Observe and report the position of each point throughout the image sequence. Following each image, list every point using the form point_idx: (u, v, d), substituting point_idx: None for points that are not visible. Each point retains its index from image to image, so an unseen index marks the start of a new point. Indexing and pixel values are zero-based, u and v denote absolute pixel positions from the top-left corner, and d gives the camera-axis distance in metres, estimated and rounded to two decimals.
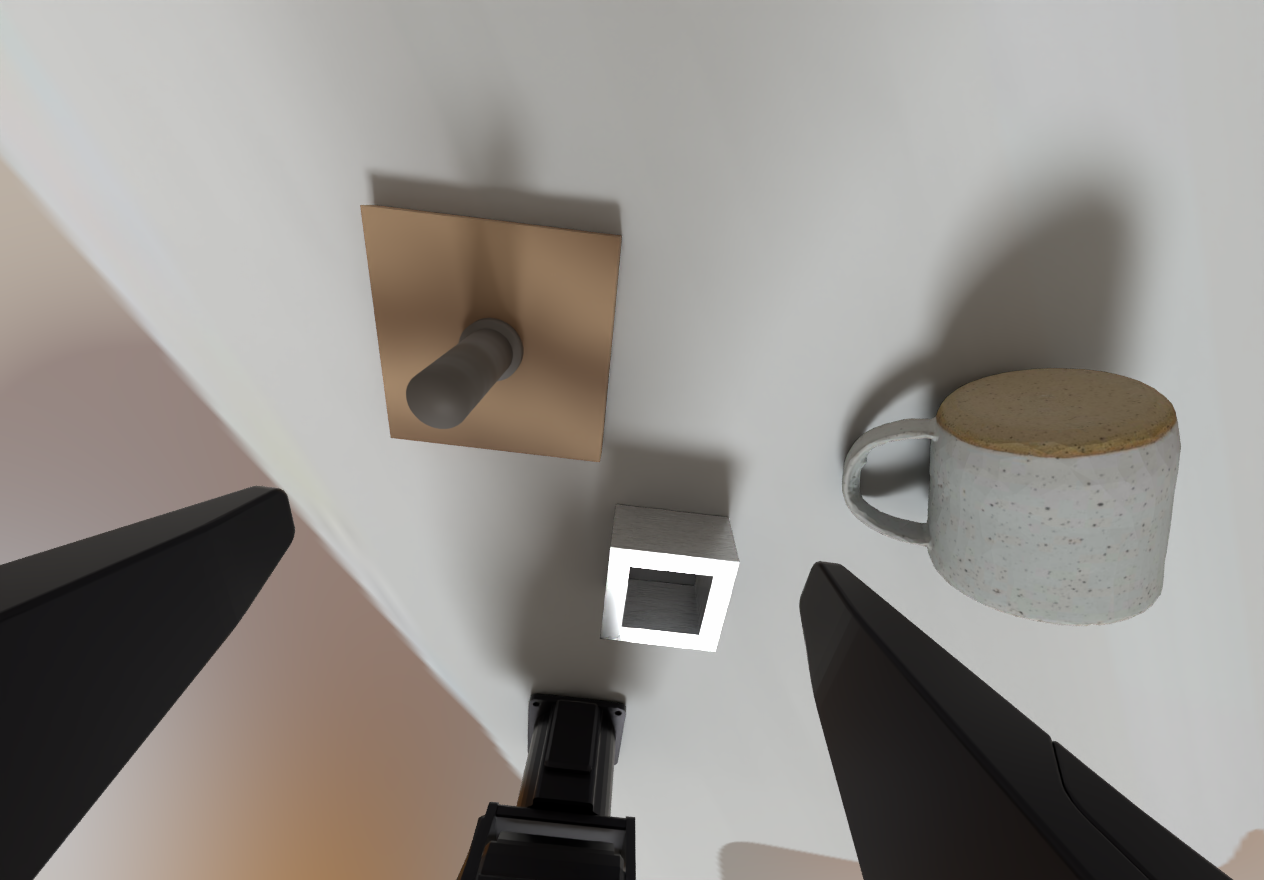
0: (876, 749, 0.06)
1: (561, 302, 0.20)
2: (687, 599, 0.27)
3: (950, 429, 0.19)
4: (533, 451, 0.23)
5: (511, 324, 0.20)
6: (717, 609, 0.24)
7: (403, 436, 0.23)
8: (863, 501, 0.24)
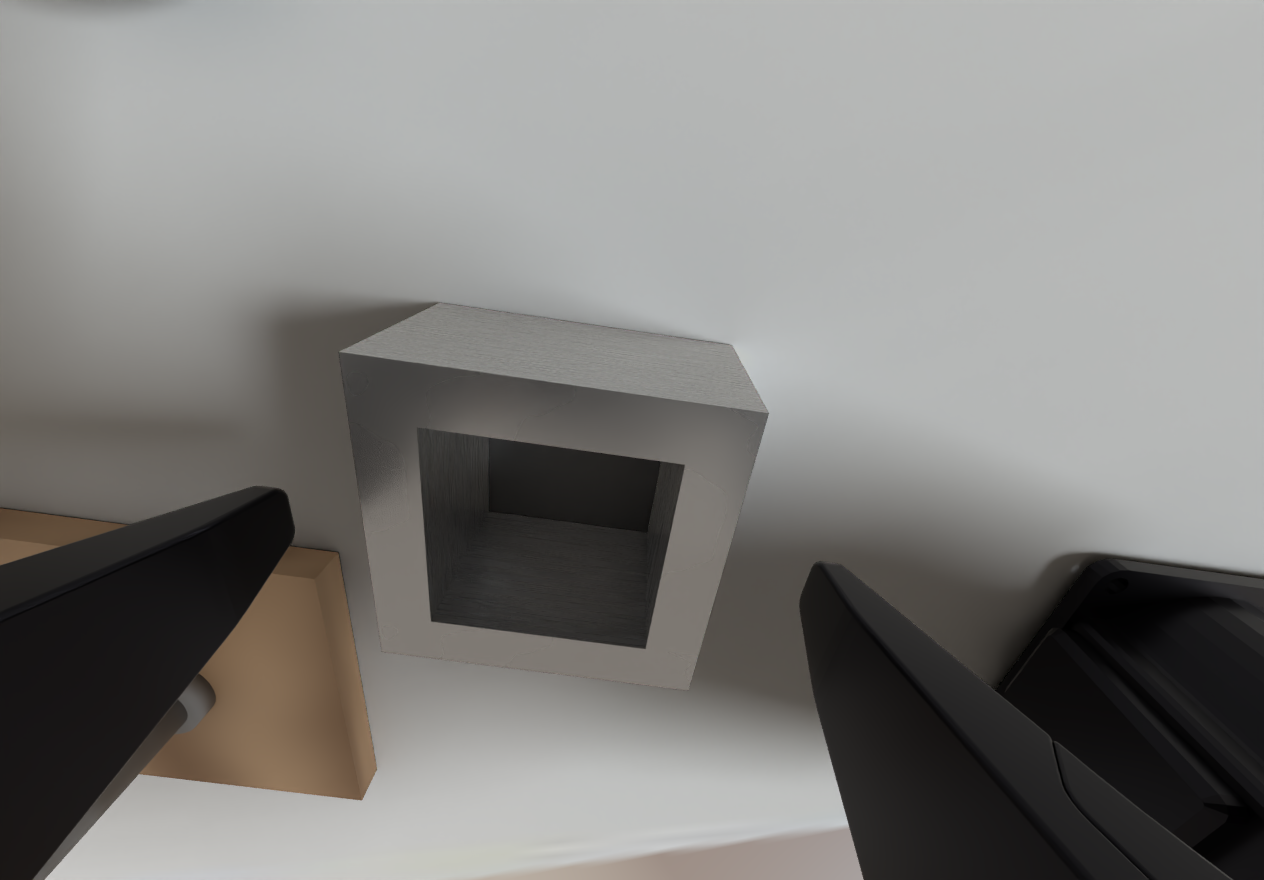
0: (876, 749, 0.06)
1: None
2: None
3: None
4: (328, 665, 0.13)
5: None
6: (557, 413, 0.07)
7: (355, 789, 0.16)
8: None
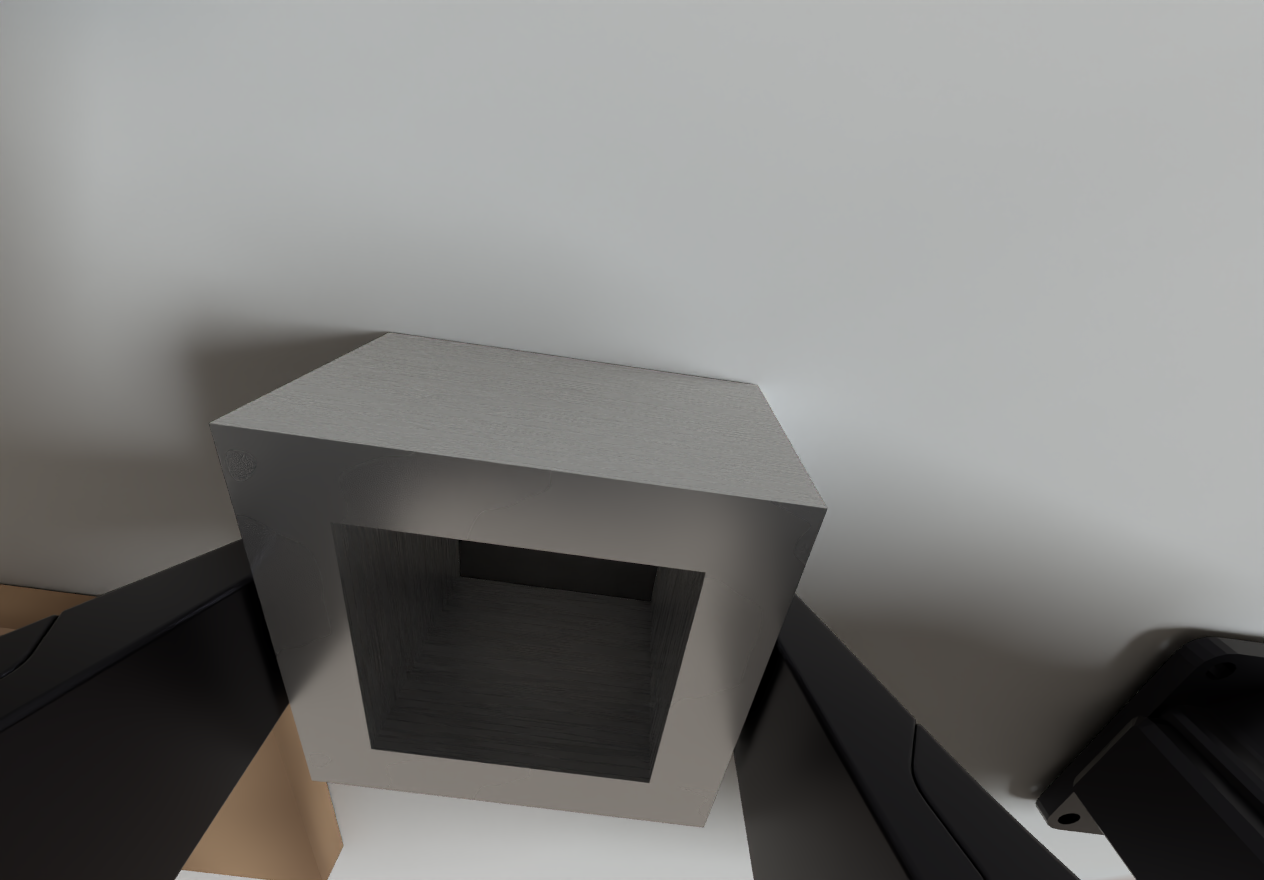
0: (763, 735, 0.06)
1: None
2: None
3: None
4: (274, 749, 0.11)
5: None
6: (527, 506, 0.05)
7: (315, 875, 0.14)
8: None
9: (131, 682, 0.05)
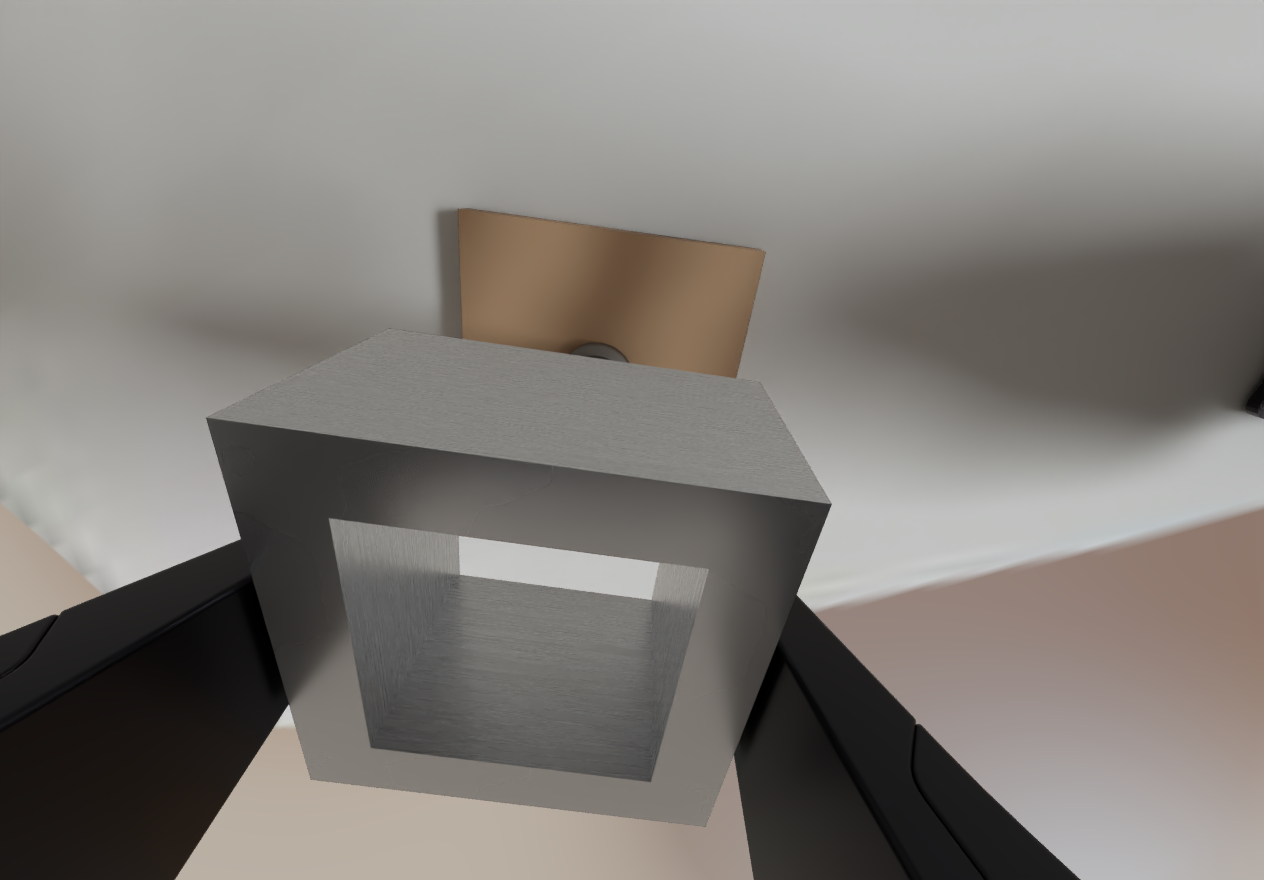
0: (763, 735, 0.06)
1: (539, 289, 0.16)
2: None
3: None
4: (739, 346, 0.17)
5: (569, 352, 0.17)
6: (528, 502, 0.05)
7: None
8: None
9: (133, 682, 0.05)
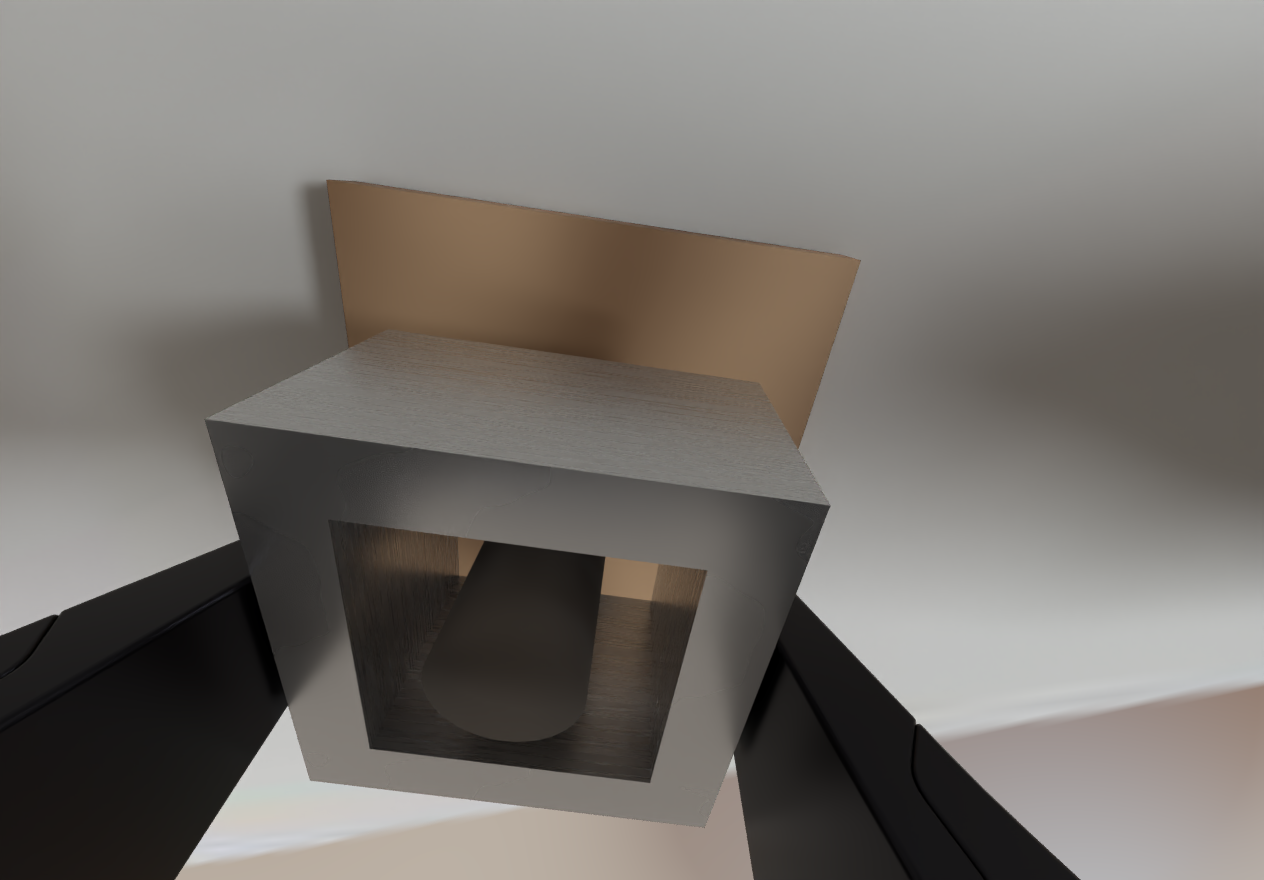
0: (763, 735, 0.06)
1: (476, 318, 0.10)
2: None
3: None
4: (804, 412, 0.10)
5: None
6: (526, 504, 0.05)
7: None
8: None
9: (131, 682, 0.05)
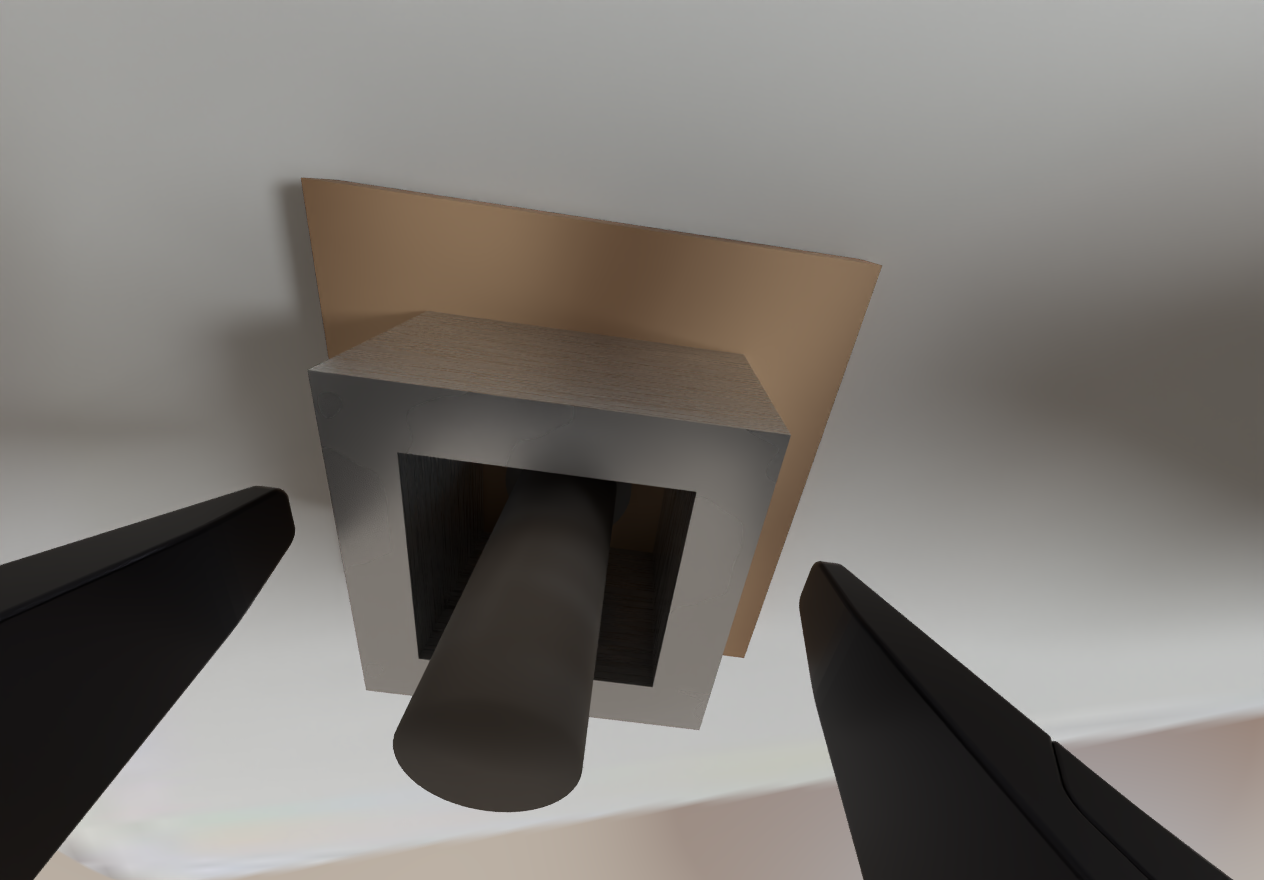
0: (876, 749, 0.06)
1: None
2: None
3: None
4: (818, 428, 0.10)
5: None
6: (554, 436, 0.06)
7: (743, 641, 0.13)
8: None
9: None
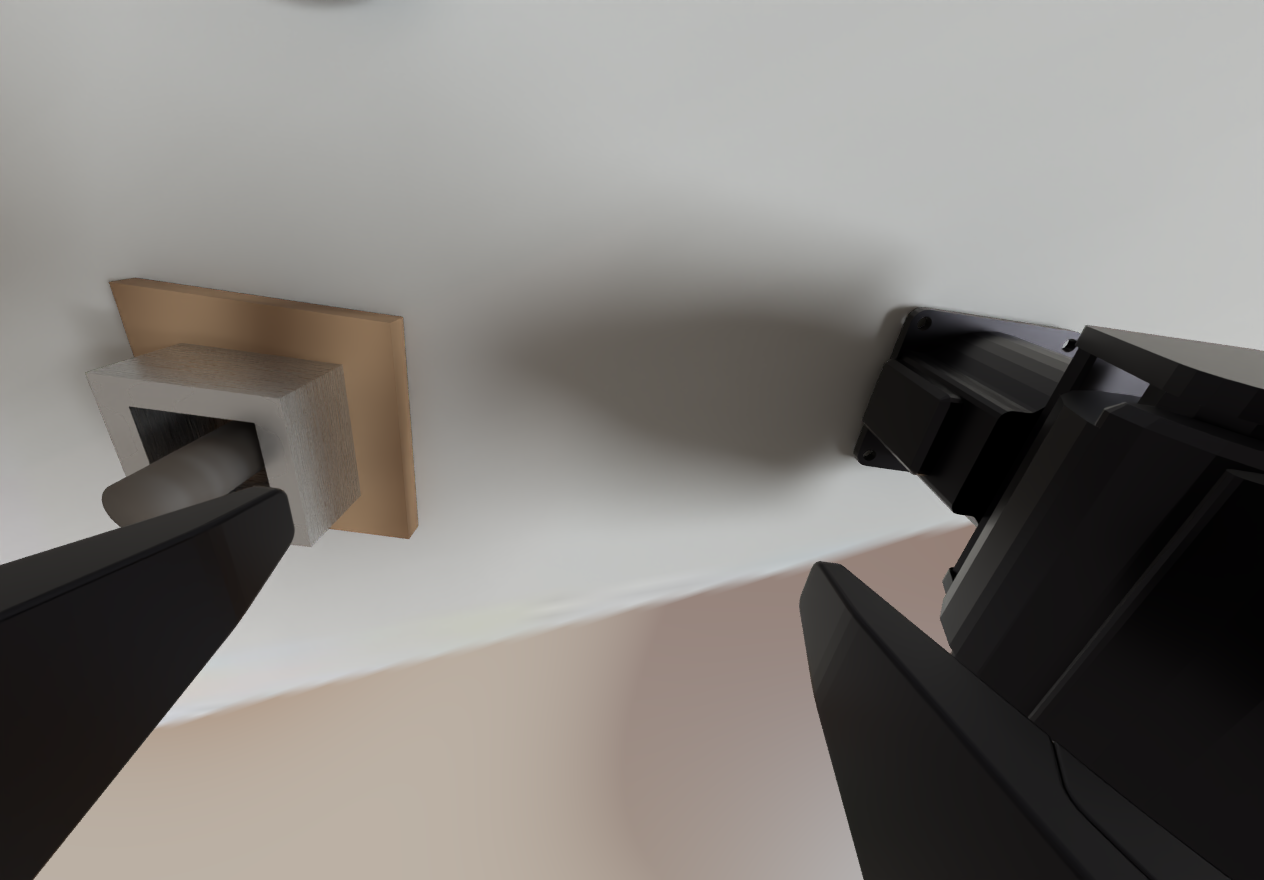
0: (876, 749, 0.06)
1: None
2: None
3: None
4: (394, 402, 0.19)
5: None
6: (188, 399, 0.15)
7: (404, 527, 0.22)
8: None
9: None
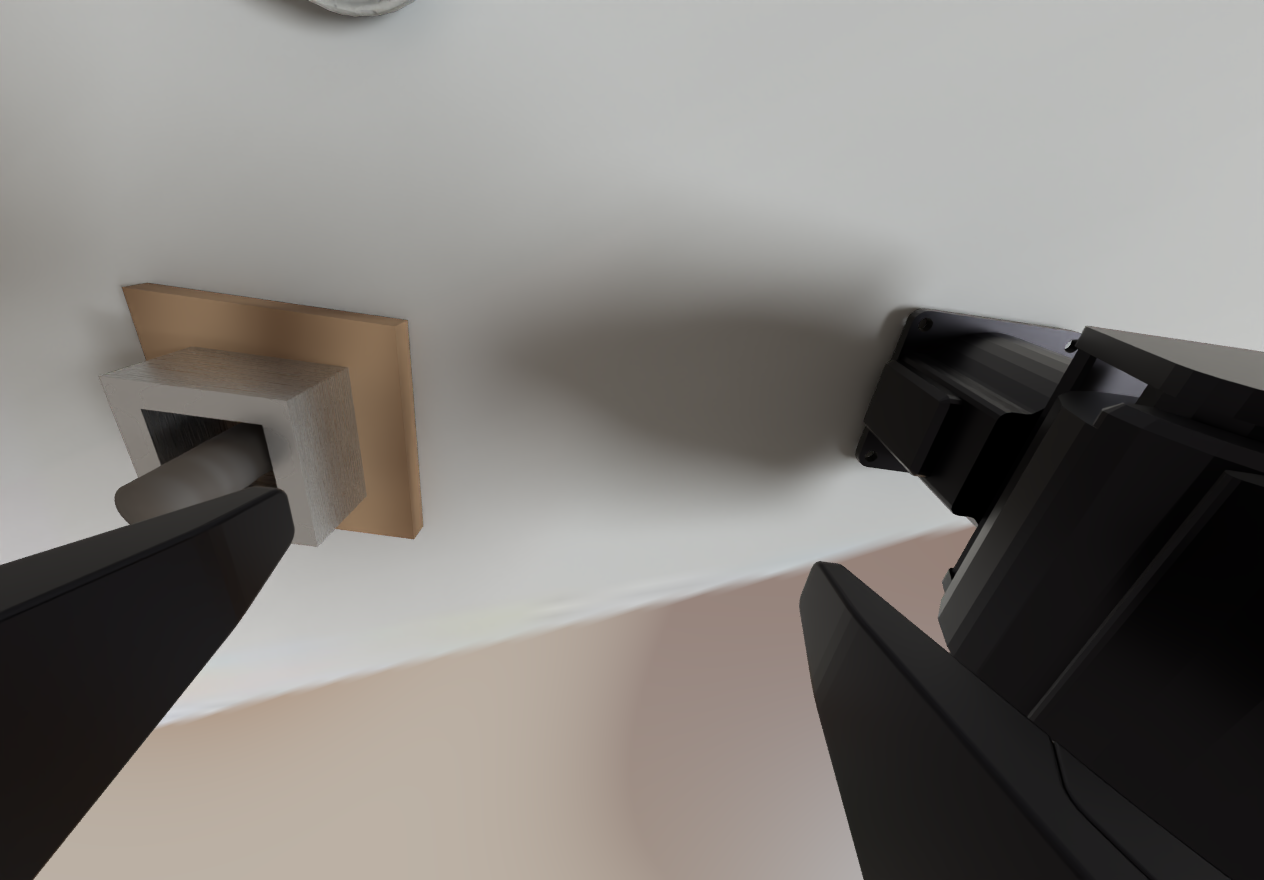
0: (876, 749, 0.06)
1: None
2: None
3: None
4: (398, 404, 0.19)
5: None
6: (198, 402, 0.16)
7: (409, 528, 0.22)
8: None
9: None
